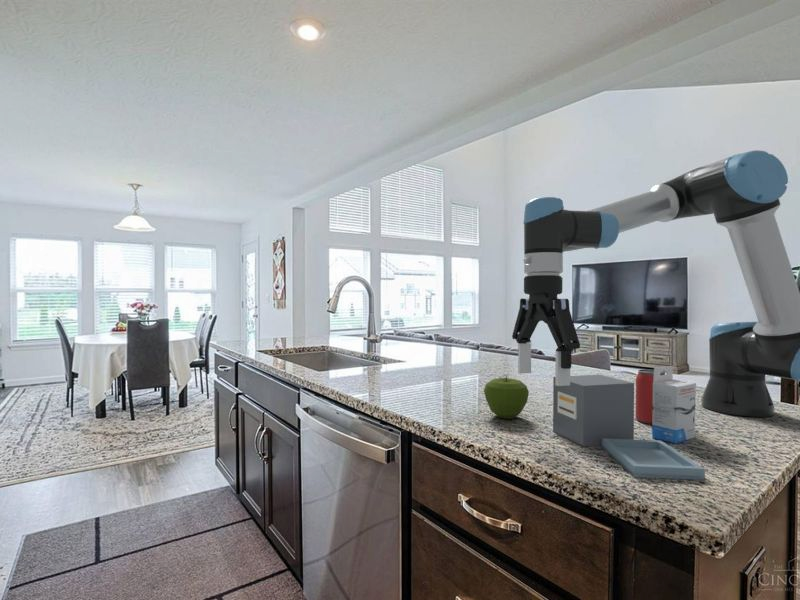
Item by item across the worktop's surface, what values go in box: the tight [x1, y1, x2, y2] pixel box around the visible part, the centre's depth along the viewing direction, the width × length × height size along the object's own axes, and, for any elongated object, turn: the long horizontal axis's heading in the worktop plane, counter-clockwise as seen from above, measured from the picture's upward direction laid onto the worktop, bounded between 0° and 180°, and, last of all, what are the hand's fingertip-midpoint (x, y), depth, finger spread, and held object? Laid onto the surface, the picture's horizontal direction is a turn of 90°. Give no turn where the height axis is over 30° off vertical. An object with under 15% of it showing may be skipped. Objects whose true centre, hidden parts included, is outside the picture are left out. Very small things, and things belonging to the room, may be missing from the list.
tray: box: [601, 438, 706, 481], centre depth 77 cm, size 11×14×2 cm
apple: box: [483, 376, 530, 420], centre depth 106 cm, size 11×10×10 cm
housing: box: [552, 374, 635, 447], centre depth 92 cm, size 13×10×12 cm
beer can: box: [635, 368, 666, 425], centre depth 103 cm, size 7×7×12 cm
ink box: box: [651, 365, 697, 445], centre depth 91 cm, size 8×5×15 cm, turn 123°
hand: (542, 378), depth 89 cm, fingers open, 13 cm apart
